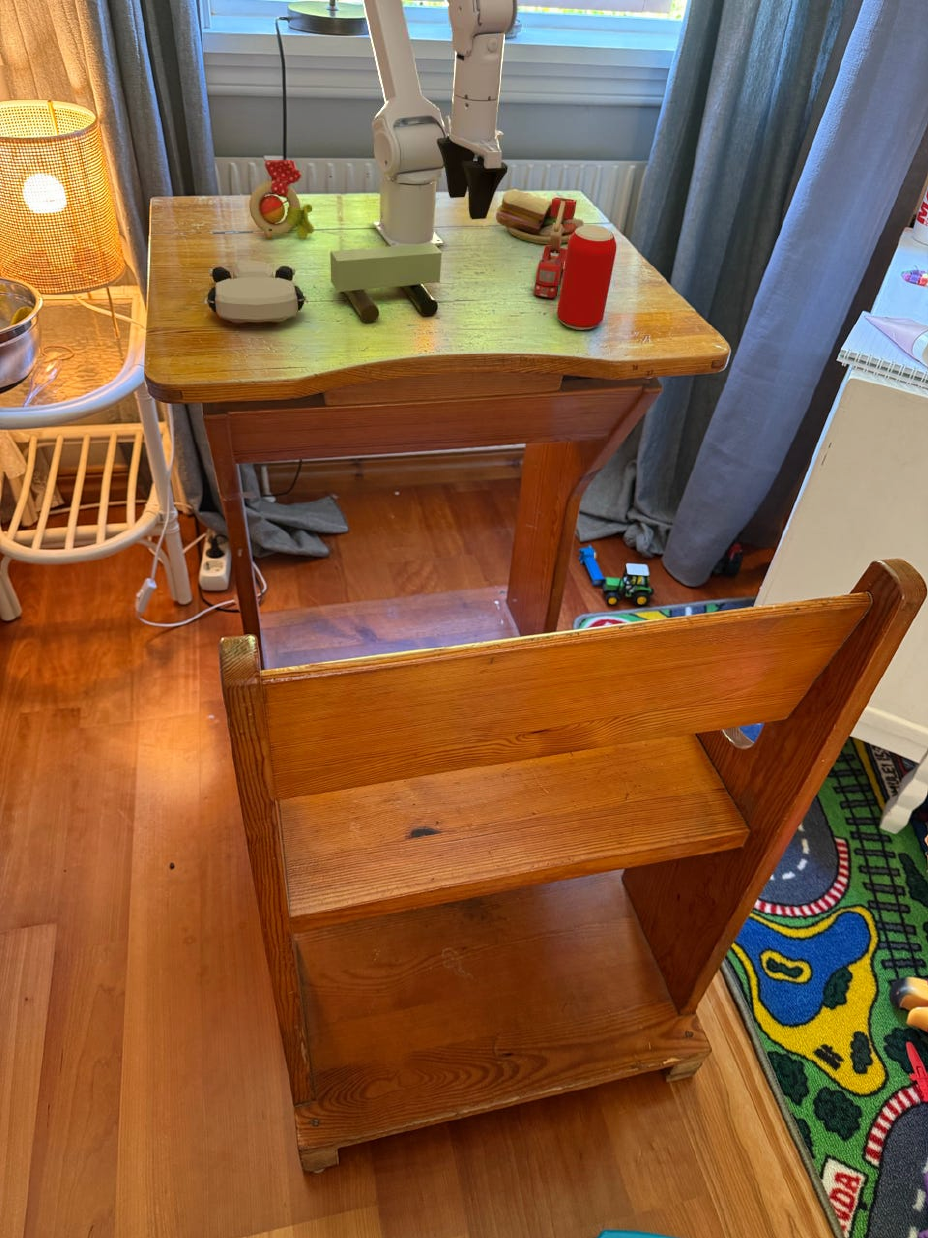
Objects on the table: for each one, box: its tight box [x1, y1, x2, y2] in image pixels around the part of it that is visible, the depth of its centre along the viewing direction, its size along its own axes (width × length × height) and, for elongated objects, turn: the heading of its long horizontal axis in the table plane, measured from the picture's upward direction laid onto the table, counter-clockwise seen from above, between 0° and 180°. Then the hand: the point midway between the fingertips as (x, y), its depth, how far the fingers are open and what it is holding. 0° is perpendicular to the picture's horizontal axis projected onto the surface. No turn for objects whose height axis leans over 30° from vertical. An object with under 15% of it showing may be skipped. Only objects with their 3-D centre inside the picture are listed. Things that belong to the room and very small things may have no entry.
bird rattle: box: [249, 158, 315, 240], centre depth 131 cm, size 6×11×9 cm
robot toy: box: [204, 260, 309, 324], centre depth 116 cm, size 12×4×15 cm
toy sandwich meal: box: [495, 188, 585, 245], centre depth 142 cm, size 12×14×5 cm
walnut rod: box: [343, 289, 380, 324], centre depth 120 cm, size 12×2×2 cm, turn 22°
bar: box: [329, 243, 442, 293], centre depth 119 cm, size 14×3×4 cm, turn 112°
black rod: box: [400, 284, 439, 318], centre depth 123 cm, size 12×2×2 cm, turn 22°
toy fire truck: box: [533, 196, 578, 299], centre depth 127 cm, size 3×14×10 cm, turn 168°
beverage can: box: [556, 224, 618, 331], centre depth 117 cm, size 6×6×12 cm
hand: (467, 207), depth 123 cm, fingers open, 7 cm apart
